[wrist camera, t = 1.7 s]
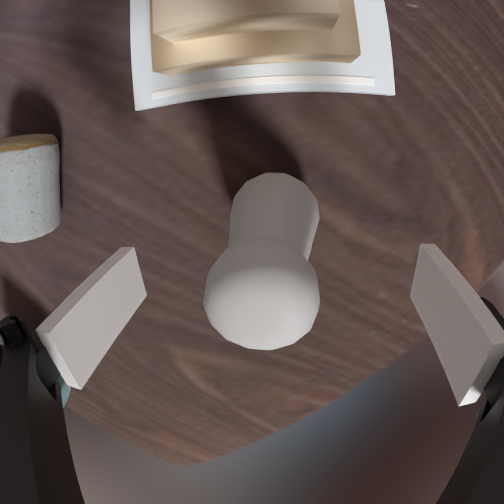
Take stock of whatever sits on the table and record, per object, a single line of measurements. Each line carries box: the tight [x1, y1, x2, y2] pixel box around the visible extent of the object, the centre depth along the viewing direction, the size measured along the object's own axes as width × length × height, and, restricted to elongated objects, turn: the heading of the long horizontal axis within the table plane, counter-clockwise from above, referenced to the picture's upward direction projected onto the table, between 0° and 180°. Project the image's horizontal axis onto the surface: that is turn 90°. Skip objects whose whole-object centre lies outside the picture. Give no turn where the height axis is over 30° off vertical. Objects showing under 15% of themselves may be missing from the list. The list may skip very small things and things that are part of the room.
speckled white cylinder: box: [0, 134, 61, 243], centre depth 19 cm, size 11×8×8 cm
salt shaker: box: [203, 173, 320, 350], centre depth 16 cm, size 6×6×13 cm
